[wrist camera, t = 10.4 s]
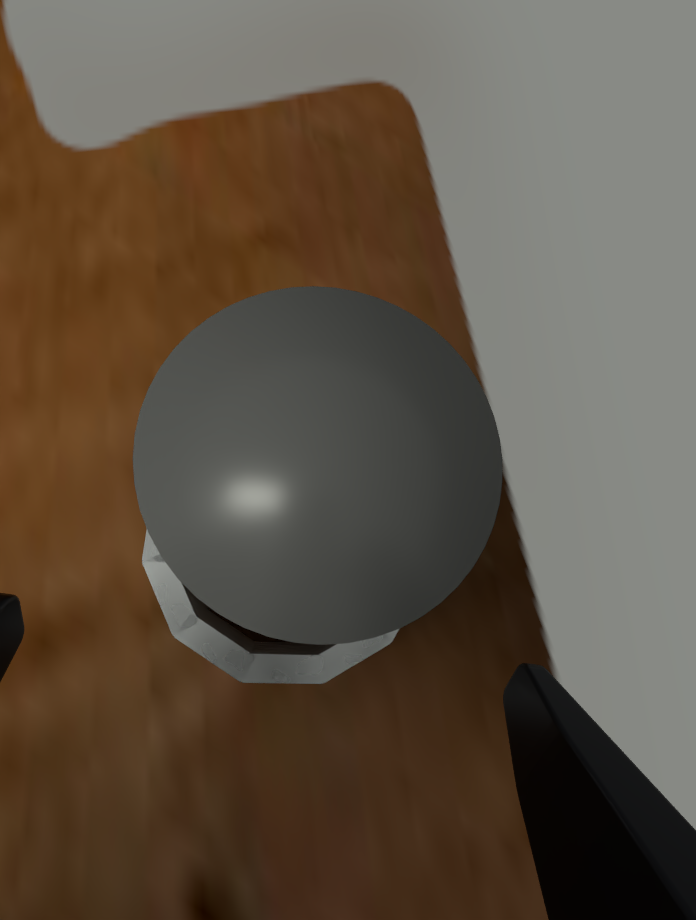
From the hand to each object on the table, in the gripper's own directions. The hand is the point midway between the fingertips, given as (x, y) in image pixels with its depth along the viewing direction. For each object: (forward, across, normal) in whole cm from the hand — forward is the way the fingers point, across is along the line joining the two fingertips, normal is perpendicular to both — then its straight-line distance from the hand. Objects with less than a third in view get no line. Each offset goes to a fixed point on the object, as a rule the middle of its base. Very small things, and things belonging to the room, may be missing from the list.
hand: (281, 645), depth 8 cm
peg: (+8, 0, +5) cm, 10 cm away
